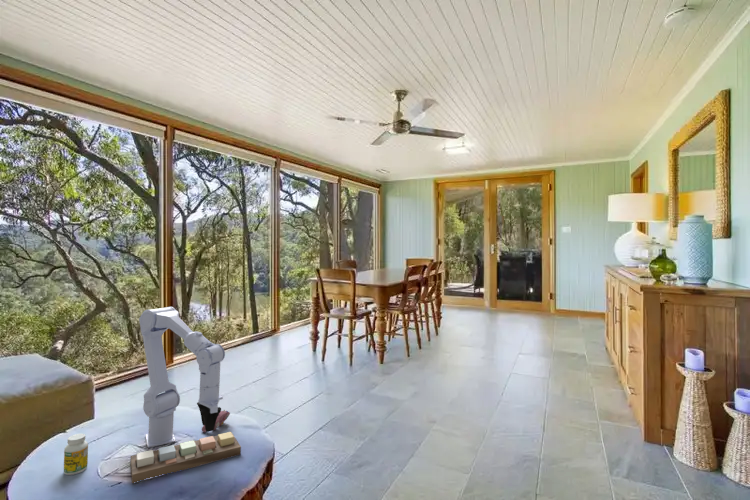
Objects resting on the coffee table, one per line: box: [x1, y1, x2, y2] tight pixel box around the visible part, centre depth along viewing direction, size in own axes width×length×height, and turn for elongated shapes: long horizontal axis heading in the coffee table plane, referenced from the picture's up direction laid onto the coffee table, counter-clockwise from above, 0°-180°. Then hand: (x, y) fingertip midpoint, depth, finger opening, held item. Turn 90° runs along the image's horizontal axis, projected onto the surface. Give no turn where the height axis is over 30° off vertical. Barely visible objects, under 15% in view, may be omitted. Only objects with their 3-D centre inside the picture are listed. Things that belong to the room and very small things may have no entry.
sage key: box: [179, 439, 196, 456], centre depth 116 cm, size 4×4×3 cm
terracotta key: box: [199, 435, 216, 451], centre depth 119 cm, size 4×4×3 cm
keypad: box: [129, 431, 242, 484], centre depth 116 cm, size 11×29×3 cm, turn 125°
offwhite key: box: [136, 449, 154, 468], centre depth 110 cm, size 4×4×3 cm
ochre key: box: [217, 431, 235, 447], centre depth 123 cm, size 4×4×3 cm
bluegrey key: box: [158, 444, 176, 462], centre depth 113 cm, size 4×4×3 cm
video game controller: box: [201, 409, 231, 433], centre depth 137 cm, size 10×5×7 cm, turn 169°
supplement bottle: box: [63, 433, 89, 476], centre depth 108 cm, size 5×5×10 cm
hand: (207, 427), depth 119 cm, fingers open, 4 cm apart
